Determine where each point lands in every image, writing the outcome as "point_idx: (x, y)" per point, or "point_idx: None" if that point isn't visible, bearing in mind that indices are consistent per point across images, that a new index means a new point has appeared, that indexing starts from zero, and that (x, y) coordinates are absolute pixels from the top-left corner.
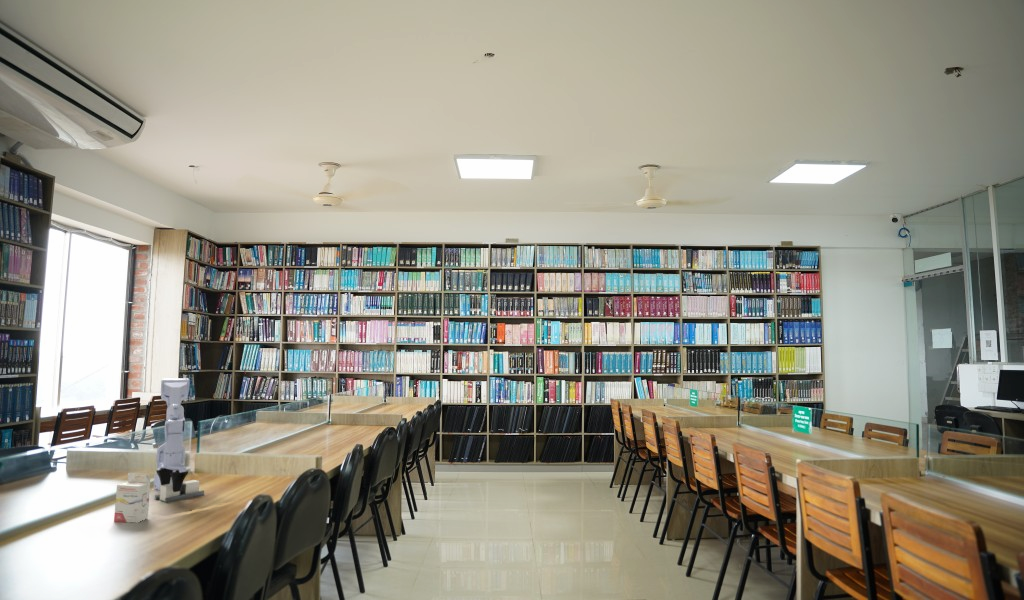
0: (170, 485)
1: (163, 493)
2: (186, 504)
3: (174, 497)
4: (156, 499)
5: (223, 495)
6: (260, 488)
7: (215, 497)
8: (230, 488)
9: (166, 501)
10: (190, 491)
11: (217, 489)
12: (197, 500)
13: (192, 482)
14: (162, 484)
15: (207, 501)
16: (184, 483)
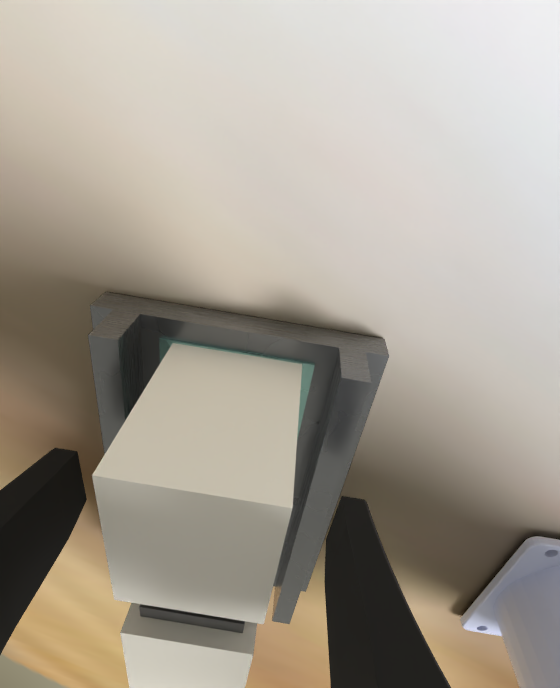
0: (146, 541)
1: (206, 403)
2: (21, 389)
3: (103, 408)
4: (336, 353)
5: (97, 591)
6: (99, 683)
7: (83, 558)
8: None
9: (109, 318)
10: None
11: (270, 652)
12: (93, 487)
13: (126, 662)
14: (349, 556)
15: None
16: (165, 633)
